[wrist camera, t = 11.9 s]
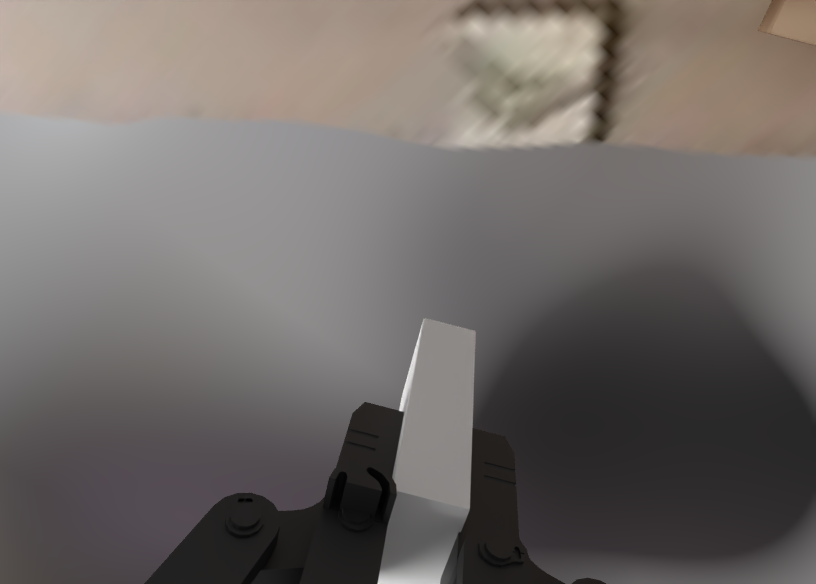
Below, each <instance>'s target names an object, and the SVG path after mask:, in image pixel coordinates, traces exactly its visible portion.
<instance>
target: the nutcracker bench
mask: <svg viewBox="0 0 816 584" xmlns="http://www.w3.org/2000/svg"><path fill="white" fill-rule="evenodd" d="M758 31H761V32H765V33H769V34H773V35H776V36H780V37H784V38H788V39H792V40H796V41H799V42H803V43H807V44H811V45H815V46H816V0H772V2H771V4H770V6H769V8H768V11H767V13H766V15H765V17H764V19H763V21H762V24H761V26H760V28H759V30H758Z"/></svg>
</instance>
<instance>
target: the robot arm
mask: <svg viewBox="0 0 816 584" xmlns="http://www.w3.org/2000/svg"><path fill="white" fill-rule="evenodd" d="M474 363H475V331H473V330H469V329H465V328H462V327H458V326H454V325H450V324H446V323H442V322H438V321H434V320H430V319H427V318H424V319H423V323H422V327H421V330H420V334H419V338H418V341H417V344H416V348H415V351H414V355H413V359H412V362H411V366H410V369H409V373H408V376H407V380H406V383H405V387H404V391H403V394H402V399H401V404H400V410H399V411H398V410H394V409H390V408H386V407H383V406H379V405H375V404H371V403H367V402H365V403H364V404H362V405H361V406H360V407H359V408H358V409H357V410H356V411H355V412H354V413H353V414H352V417H351V420H350V424H349V427H348V431H347V434H346V437H345V440H344V444H343V447H342V450H341V453H340V457H339V460H338V463H337V467H336V468H335V469H334V471H333V472H332V474H331V476H330V477H329V481H328V485H327V490H326V494H325V497H324V498H323V499H322V500H321V501H320V502H319V503H317V504H316V505H314V506H312V507H309V508H306V509H302V510H294V511H278V510H277V509H276V507H275V505H274V504H273V503H272V502H270V501H269V500H267V499H266V498H265V497H263V496H260V495H256V494H253V493H237V494H234V495H231V496H227V497H225V498H223V499H222V500H221V501H219V502H218V503H217V504H215V505H214V506H213V507H212V508H211V509H210V511H209V512H208V513H207V514H206V515H205V516H204V517H203V518H202V520H201V521H200V522H199V523H198V524H197V525H196V526H195V527H194V529H193V530H192V531H191V532H190V533H189V534H188V535H187V536H186V538H185V539H184V540H183V541H182V542H181V543H180V544H179V545H178V546H177V548H176V549H175V550H174V551H173V552H172V553H171V554H170V555H169V557H168V558H167V559H166V560H165V561H164V563H162V564H161V566H160V567H159V568H158V569H157V570H156V571H155V572H154V573H153V575H152V576H151V577H150V578H149V579H148V580H147V581H146V582H145V584H565V583H563V582H561V581H559V580H558V579H556V578H554V577H552V576H551V575H549V574H547V573H546V572H544V571H542V570H541V569H540V568H538V567H537V566H536V565H535V564H534V563H533V562H532V561H531V560H530V558H529V556H528V553H527V549H526V548H525V546H524V545H523V544H522V542H521V541H520V538H519V529H518V511H517V493H516V486H515V484H516V476H515V459H514V452H513V450H512V448H511V447H510V445H509V443H508V441H507V439H506V437H505V436H501V435H497V434H493V433H489V432H485V431H482V430H478V429H474V428H472V424H473V394H474ZM572 584H606V583H604V582H602V581H600V580H595V579H591V578H584V579H578V580H576V581H575V582H573V583H572Z"/></svg>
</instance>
